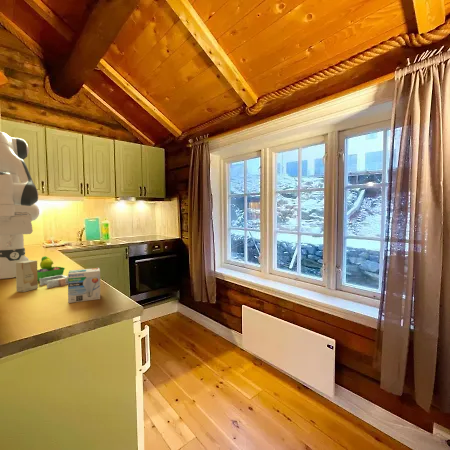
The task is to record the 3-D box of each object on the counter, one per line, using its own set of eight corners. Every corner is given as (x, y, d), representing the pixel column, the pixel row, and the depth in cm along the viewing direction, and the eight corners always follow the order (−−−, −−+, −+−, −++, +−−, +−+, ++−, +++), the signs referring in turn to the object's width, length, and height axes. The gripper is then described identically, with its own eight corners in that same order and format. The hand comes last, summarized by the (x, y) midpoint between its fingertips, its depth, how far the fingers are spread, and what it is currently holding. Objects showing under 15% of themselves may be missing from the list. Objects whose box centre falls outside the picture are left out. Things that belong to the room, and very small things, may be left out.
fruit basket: (40, 283, 120) (39, 259, 120) (31, 280, 125) (30, 257, 124) (65, 278, 130) (65, 255, 130) (56, 275, 135) (56, 254, 134)
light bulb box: (67, 303, 92) (67, 273, 92) (69, 298, 98) (68, 270, 98) (101, 299, 97) (100, 270, 97) (100, 294, 103) (99, 267, 103)
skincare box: (24, 292, 106) (23, 262, 105) (15, 291, 107) (14, 262, 106) (38, 288, 112) (37, 260, 112) (30, 287, 113) (29, 259, 112)
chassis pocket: (35, 283, 120) (35, 277, 120) (65, 277, 130) (65, 271, 130) (52, 289, 109) (52, 282, 109) (84, 283, 120) (84, 276, 120)
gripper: (28, 212, 112) (29, 244, 112) (-38, 212, 95) (-36, 249, 96) (34, 212, 108) (35, 244, 109) (-34, 211, 91) (-32, 250, 92)
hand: (1, 247), depth 102 cm, fingers open, 4 cm apart
